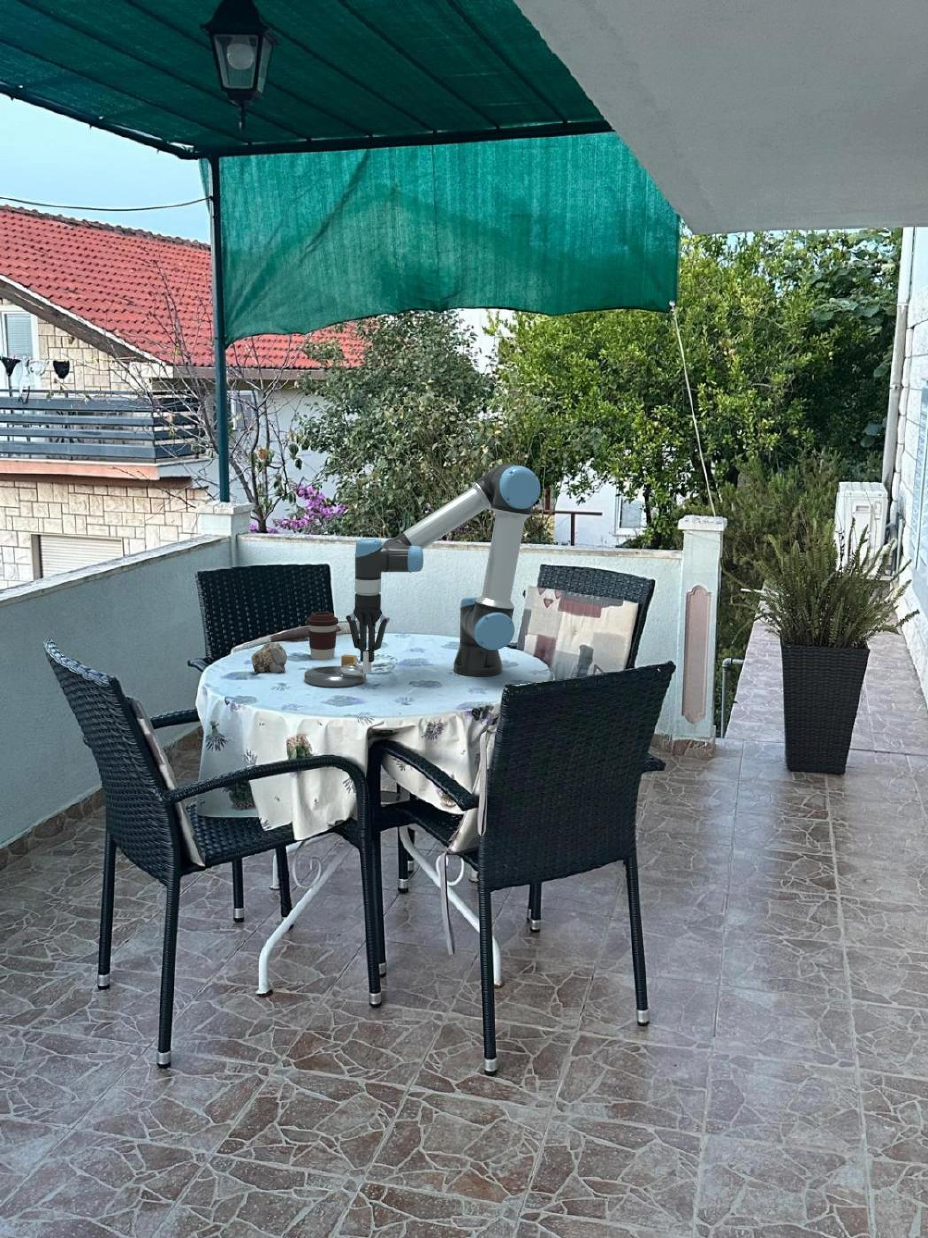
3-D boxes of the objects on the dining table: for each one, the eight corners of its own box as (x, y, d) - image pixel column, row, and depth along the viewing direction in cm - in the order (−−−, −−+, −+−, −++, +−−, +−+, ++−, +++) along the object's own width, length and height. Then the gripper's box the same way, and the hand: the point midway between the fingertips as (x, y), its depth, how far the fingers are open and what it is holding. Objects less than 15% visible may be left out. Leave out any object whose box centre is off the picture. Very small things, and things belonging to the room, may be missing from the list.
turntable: (378, 673, 350) (378, 657, 349) (352, 690, 331) (352, 673, 330) (323, 668, 355) (323, 652, 354) (294, 684, 336) (294, 667, 335)
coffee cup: (332, 664, 364) (332, 617, 361) (302, 662, 366) (302, 615, 363) (342, 657, 374) (342, 611, 371) (312, 655, 375) (312, 609, 372)
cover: (368, 673, 342) (368, 663, 342) (359, 679, 336) (359, 668, 335) (346, 671, 344) (346, 661, 344) (336, 676, 338) (336, 666, 337)
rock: (268, 677, 358) (246, 654, 355) (297, 654, 356) (275, 631, 353) (267, 688, 349) (244, 664, 346) (296, 665, 348) (274, 641, 345)
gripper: (393, 592, 335) (392, 671, 340) (351, 589, 339) (351, 667, 344) (384, 596, 328) (383, 677, 333) (341, 593, 332) (341, 673, 337)
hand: (367, 672), depth 338 cm, fingers closed
